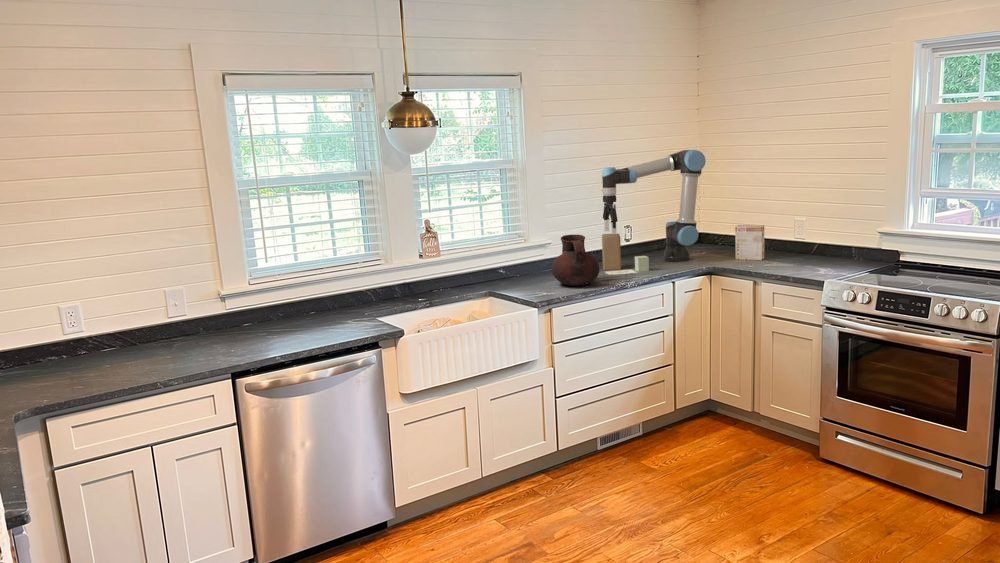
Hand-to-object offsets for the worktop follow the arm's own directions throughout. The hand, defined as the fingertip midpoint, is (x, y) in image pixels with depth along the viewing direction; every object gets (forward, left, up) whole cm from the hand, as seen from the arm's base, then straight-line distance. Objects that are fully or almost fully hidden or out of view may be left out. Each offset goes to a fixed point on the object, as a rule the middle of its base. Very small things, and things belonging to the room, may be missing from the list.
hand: (610, 232), depth 420 cm
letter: (-1, +13, -21) cm, 25 cm away
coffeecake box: (-81, +6, -21) cm, 84 cm away
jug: (+30, +34, -21) cm, 50 cm away
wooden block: (0, 0, -21) cm, 21 cm away
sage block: (-14, +13, -21) cm, 28 cm away
